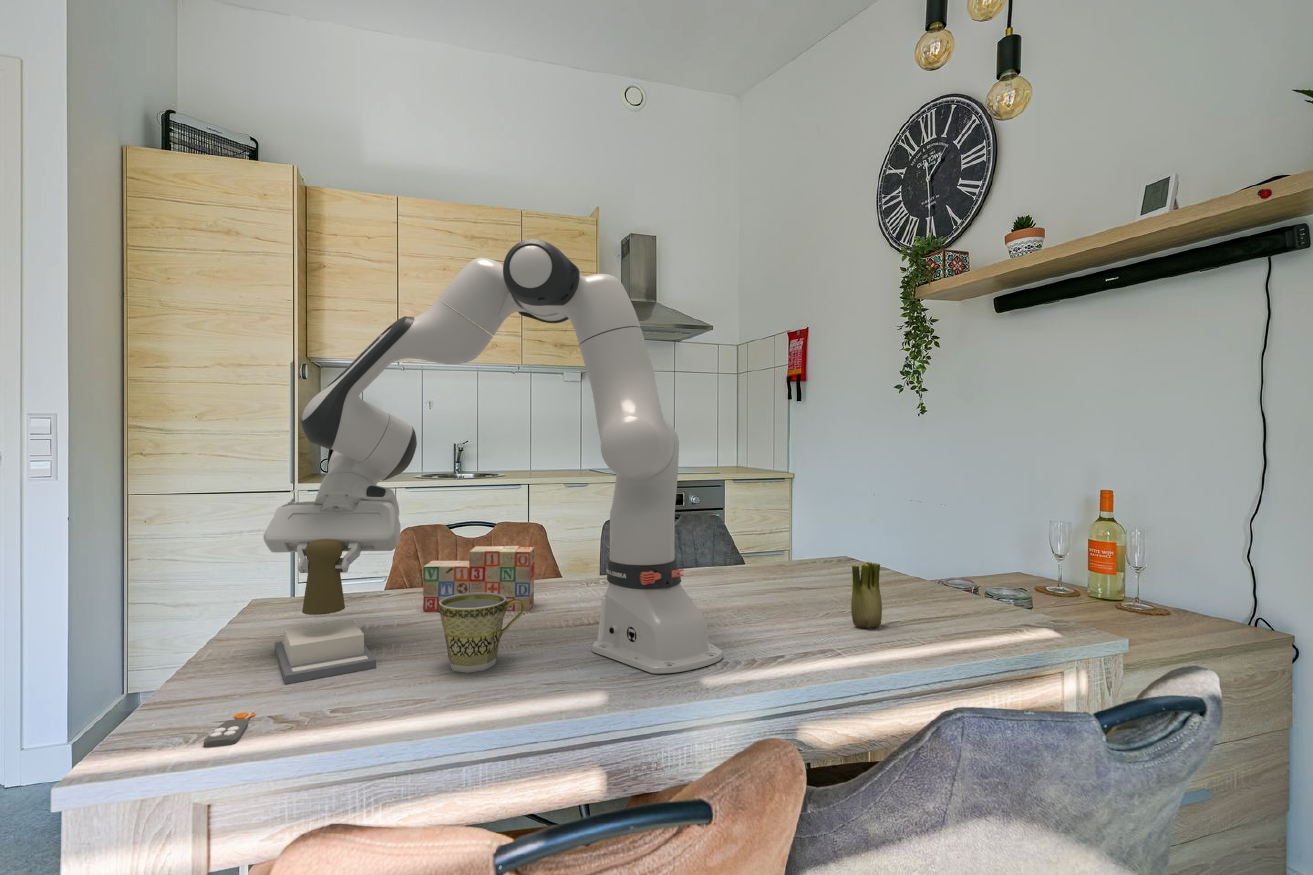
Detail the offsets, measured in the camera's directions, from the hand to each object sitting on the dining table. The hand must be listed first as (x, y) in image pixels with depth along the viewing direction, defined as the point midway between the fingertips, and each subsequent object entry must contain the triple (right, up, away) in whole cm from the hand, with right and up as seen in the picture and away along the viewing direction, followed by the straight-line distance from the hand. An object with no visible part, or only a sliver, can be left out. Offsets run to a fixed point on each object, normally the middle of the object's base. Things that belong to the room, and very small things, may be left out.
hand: (322, 570), depth 102 cm
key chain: (+1, -15, -22) cm, 27 cm away
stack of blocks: (+16, -14, +32) cm, 38 cm away
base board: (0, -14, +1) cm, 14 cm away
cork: (0, -6, +1) cm, 6 cm away
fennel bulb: (+91, -15, +19) cm, 94 cm away
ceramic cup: (+25, -14, -1) cm, 29 cm away
